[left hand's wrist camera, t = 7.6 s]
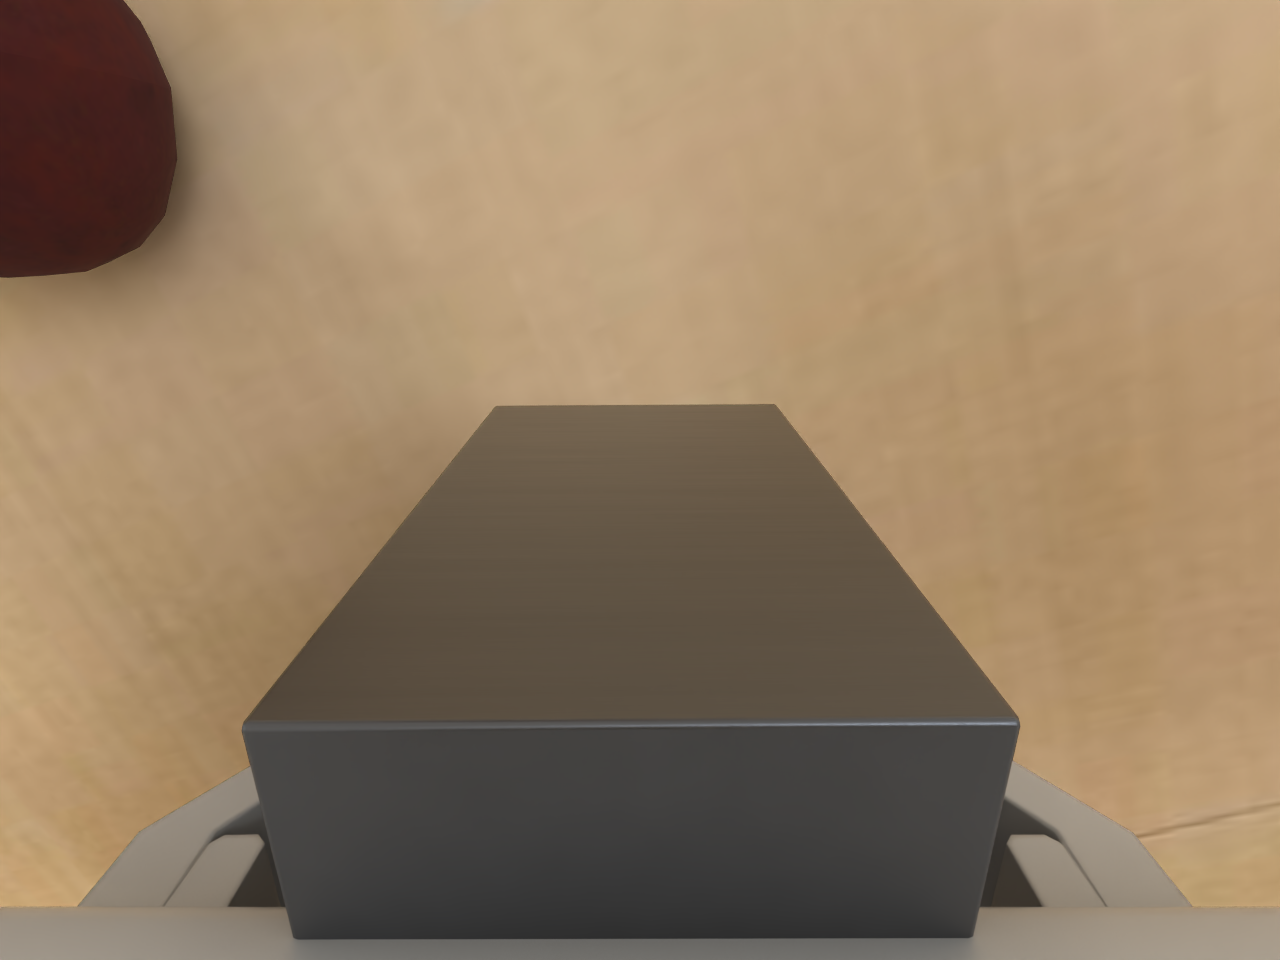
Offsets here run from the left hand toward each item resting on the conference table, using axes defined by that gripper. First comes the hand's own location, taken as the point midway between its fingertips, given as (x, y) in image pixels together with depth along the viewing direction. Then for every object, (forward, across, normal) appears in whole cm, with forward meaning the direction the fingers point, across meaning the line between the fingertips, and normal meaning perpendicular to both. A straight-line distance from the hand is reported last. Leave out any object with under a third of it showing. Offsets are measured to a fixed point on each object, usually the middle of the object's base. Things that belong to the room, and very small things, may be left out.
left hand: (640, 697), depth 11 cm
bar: (+4, 0, -9) cm, 10 cm away
